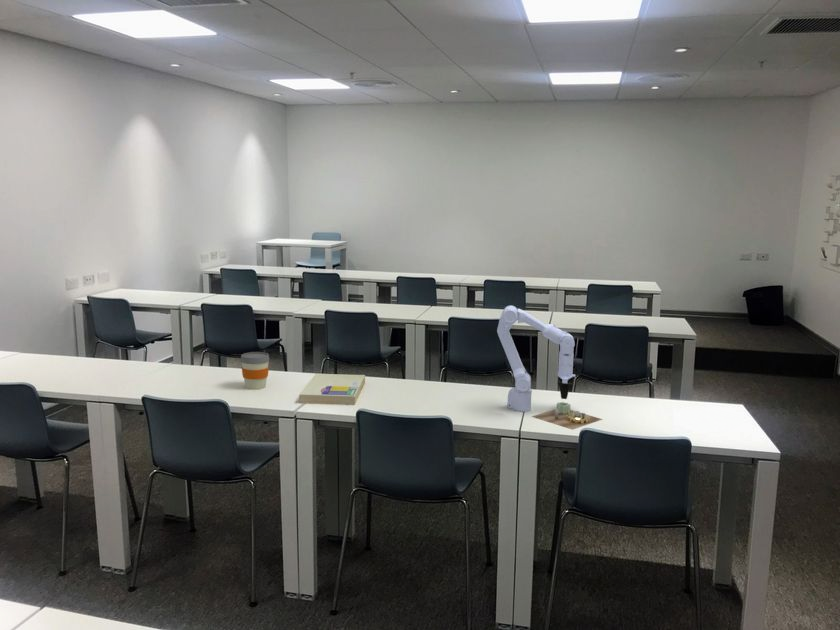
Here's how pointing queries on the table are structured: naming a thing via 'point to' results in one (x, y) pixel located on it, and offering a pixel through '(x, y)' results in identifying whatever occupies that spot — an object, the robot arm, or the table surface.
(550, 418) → the gear board
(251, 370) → the reusable coffee cup
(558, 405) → the pale green gear
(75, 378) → the table surface
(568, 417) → the brass gear
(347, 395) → the puzzle box
